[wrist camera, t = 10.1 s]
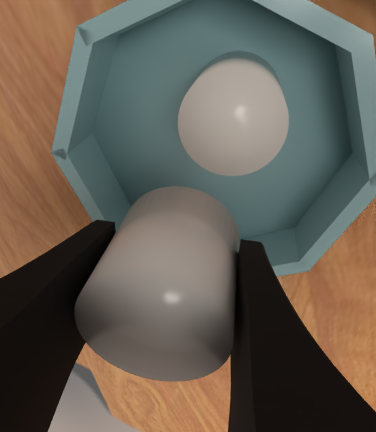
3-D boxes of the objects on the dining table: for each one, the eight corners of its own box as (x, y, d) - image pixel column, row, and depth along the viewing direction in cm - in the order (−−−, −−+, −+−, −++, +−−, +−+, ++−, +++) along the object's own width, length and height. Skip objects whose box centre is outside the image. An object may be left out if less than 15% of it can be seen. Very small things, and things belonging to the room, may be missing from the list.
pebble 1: (247, 194, 10) (244, 286, 7) (232, 288, 13) (223, 392, 9) (121, 179, 11) (63, 259, 8) (127, 272, 13) (84, 366, 10)
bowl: (430, 70, 14) (473, 88, 12) (265, 274, 22) (266, 317, 19) (137, -87, 13) (104, -110, 10) (68, 185, 21) (38, 216, 18)
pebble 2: (293, 60, 15) (305, 80, 11) (266, 148, 17) (270, 185, 13) (201, 42, 15) (186, 56, 11) (187, 131, 17) (171, 164, 14)
